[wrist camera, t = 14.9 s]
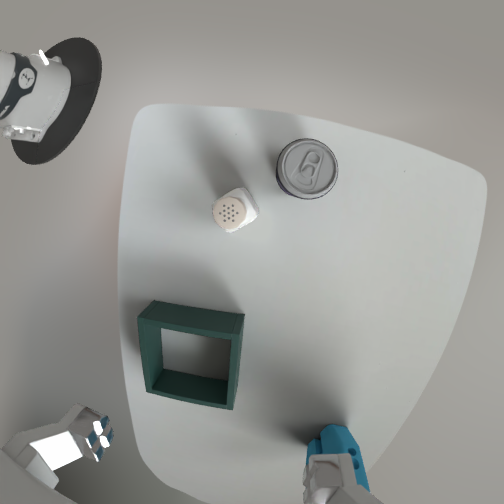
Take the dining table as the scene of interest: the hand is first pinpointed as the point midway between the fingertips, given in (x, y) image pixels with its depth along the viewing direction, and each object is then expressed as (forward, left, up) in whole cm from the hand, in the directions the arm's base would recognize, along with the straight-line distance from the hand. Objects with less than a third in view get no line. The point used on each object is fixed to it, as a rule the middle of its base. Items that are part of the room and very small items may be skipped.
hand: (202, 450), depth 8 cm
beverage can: (+4, +12, -30) cm, 32 cm away
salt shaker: (-3, +7, -30) cm, 31 cm away
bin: (-8, -15, -30) cm, 34 cm away
